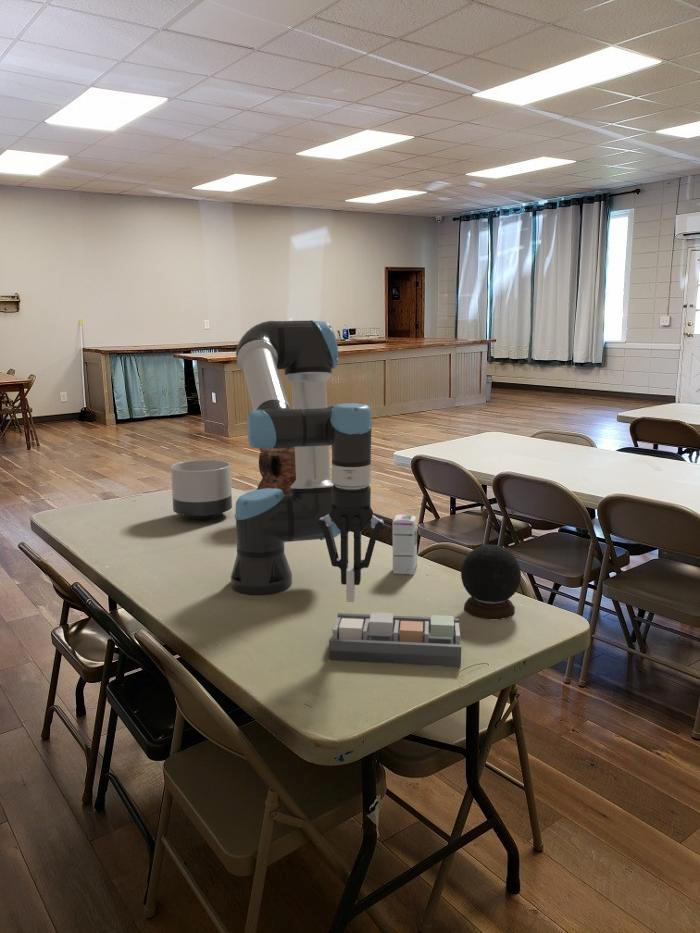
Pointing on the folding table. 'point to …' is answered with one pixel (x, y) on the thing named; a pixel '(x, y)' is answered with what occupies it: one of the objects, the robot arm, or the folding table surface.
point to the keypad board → (396, 644)
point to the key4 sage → (442, 626)
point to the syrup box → (404, 544)
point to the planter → (201, 488)
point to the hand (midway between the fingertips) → (350, 599)
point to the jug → (277, 468)
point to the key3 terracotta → (411, 631)
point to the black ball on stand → (490, 581)
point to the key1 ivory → (351, 628)
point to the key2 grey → (381, 623)
